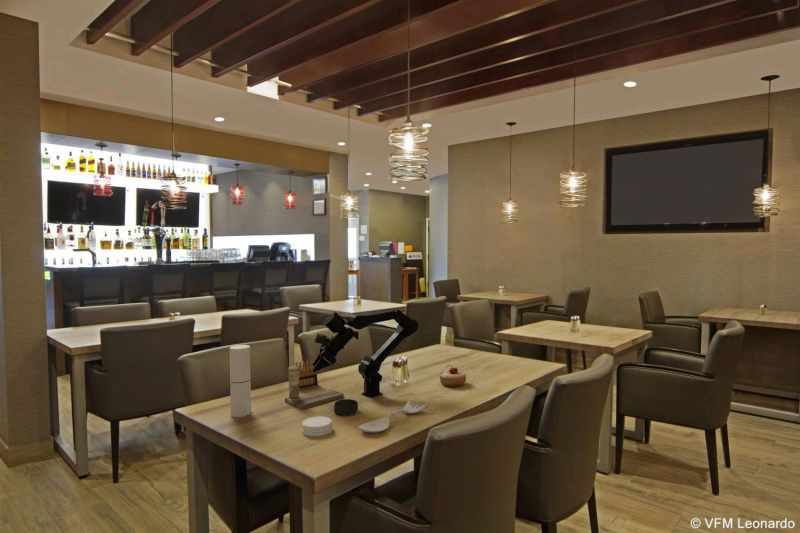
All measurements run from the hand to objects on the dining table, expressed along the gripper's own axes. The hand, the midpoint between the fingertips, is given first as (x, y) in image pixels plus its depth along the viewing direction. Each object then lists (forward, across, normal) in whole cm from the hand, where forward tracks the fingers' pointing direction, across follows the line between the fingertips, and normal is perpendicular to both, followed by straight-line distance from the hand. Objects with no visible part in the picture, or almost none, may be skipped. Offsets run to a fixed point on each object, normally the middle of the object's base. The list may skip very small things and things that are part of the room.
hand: (313, 368), depth 190 cm
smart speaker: (+1, +16, +18) cm, 24 cm away
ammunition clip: (+12, -20, +7) cm, 24 cm away
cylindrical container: (+28, +10, -9) cm, 31 cm away
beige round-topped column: (+14, 0, +4) cm, 15 cm away
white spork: (-10, +28, +29) cm, 42 cm away
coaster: (+9, +32, +10) cm, 35 cm away
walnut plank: (+8, +1, +10) cm, 13 cm away
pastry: (-34, -12, +53) cm, 64 cm away
